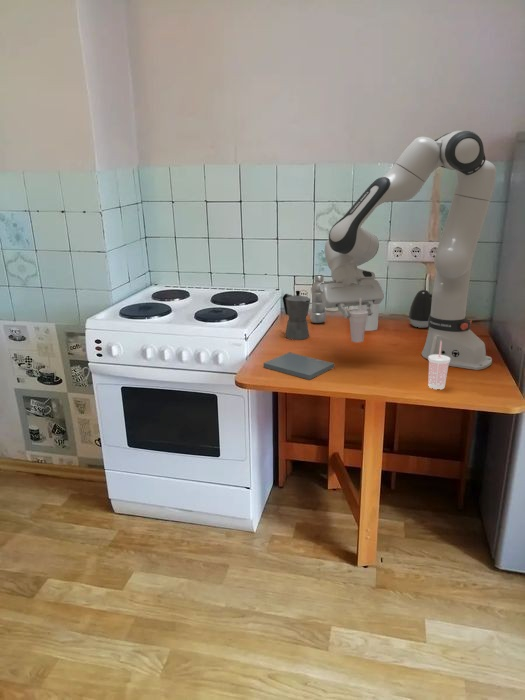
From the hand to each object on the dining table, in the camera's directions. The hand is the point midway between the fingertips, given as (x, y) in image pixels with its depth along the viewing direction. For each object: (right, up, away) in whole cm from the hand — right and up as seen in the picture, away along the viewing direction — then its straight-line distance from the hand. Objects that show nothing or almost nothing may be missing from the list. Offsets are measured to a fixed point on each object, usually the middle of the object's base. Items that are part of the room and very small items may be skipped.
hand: (359, 315), depth 170 cm
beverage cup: (+21, -22, -12) cm, 32 cm away
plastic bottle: (-7, 0, +57) cm, 57 cm away
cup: (+12, -2, +49) cm, 51 cm away
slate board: (-19, -16, +4) cm, 25 cm away
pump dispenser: (+35, -1, +51) cm, 62 cm away
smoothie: (0, -8, +3) cm, 9 cm away
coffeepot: (-18, -6, +38) cm, 43 cm away
